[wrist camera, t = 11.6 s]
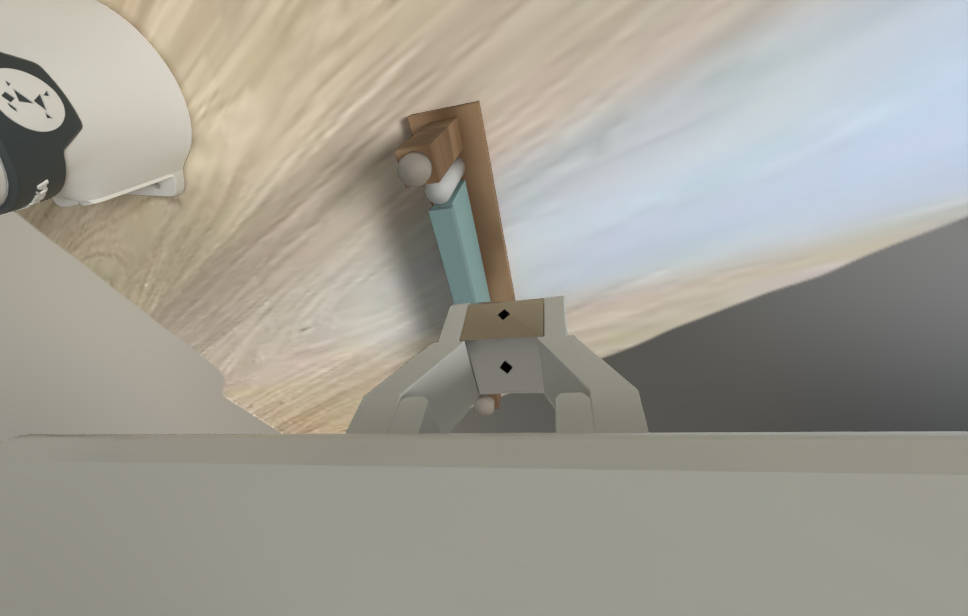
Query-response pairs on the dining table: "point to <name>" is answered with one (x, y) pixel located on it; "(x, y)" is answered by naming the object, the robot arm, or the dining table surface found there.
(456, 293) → the gate
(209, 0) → the dining table surface
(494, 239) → the gate frame
